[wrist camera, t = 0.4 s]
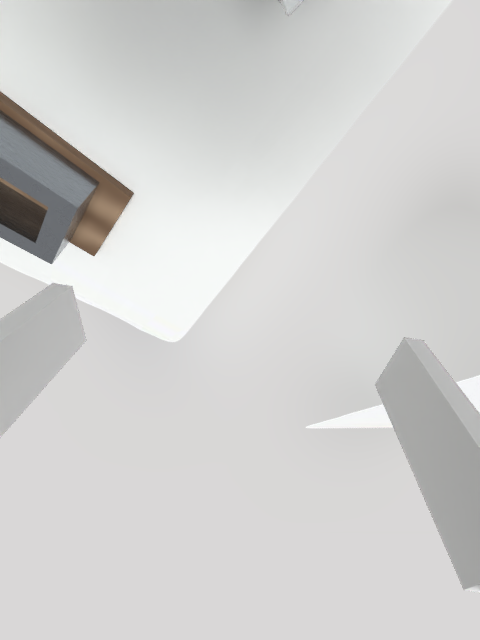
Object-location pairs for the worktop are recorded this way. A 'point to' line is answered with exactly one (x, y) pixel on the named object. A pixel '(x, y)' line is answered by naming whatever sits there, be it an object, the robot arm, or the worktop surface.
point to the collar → (39, 192)
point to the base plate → (109, 191)
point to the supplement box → (290, 5)
